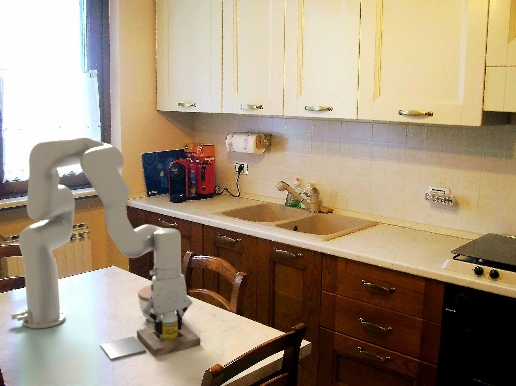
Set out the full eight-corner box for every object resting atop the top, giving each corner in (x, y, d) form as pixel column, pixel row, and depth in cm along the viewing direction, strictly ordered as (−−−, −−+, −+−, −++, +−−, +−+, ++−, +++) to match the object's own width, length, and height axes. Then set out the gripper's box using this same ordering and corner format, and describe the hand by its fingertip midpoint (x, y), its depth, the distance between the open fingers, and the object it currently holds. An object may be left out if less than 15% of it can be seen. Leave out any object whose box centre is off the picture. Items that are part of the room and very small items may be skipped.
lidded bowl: (159, 306, 191) (158, 275, 189) (186, 316, 184) (186, 283, 182) (130, 319, 181) (129, 286, 179) (158, 329, 174) (158, 295, 171)
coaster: (111, 360, 154) (110, 358, 154) (100, 346, 162) (100, 344, 162) (146, 351, 159) (145, 349, 159) (133, 338, 168) (133, 336, 168)
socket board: (154, 356, 157) (154, 349, 156) (137, 337, 168) (136, 330, 168) (200, 345, 164) (200, 338, 163) (180, 327, 175) (180, 320, 175)
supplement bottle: (173, 334, 170) (172, 304, 168) (181, 341, 165) (180, 310, 164) (156, 338, 167) (155, 307, 165) (164, 345, 163) (163, 314, 161)
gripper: (143, 280, 154) (145, 342, 158) (200, 270, 163) (200, 329, 167) (134, 272, 161) (135, 332, 164) (189, 263, 170) (189, 319, 173)
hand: (168, 330), depth 166 cm, fingers closed on supplement bottle, 5 cm apart
